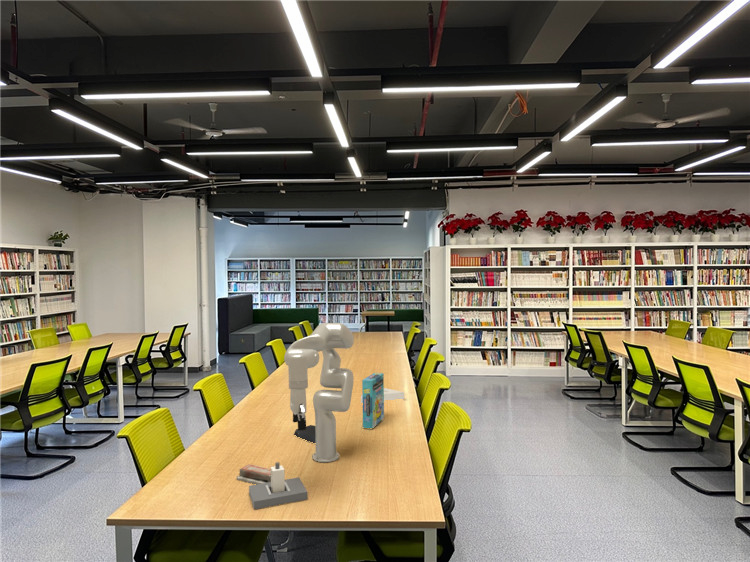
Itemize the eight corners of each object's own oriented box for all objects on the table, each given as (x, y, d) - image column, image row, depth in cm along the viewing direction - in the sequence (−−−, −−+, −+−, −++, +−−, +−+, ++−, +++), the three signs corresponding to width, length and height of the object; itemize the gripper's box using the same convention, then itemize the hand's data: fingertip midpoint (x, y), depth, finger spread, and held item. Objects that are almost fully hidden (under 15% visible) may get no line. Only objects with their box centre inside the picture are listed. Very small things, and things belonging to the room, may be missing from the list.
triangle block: (404, 401, 320) (404, 392, 320) (377, 410, 301) (377, 400, 301) (372, 394, 340) (371, 385, 340) (345, 401, 322) (345, 392, 321)
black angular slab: (312, 430, 263) (311, 423, 263) (334, 439, 249) (334, 431, 249) (292, 436, 253) (292, 428, 253) (314, 445, 240) (314, 437, 240)
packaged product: (235, 469, 200) (251, 461, 209) (235, 480, 200) (251, 472, 209) (269, 477, 192) (284, 468, 201) (269, 489, 192) (284, 479, 201)
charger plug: (271, 495, 186) (270, 462, 186) (282, 492, 188) (281, 460, 187) (273, 500, 182) (272, 466, 182) (284, 497, 184) (284, 464, 183)
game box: (373, 430, 261) (372, 380, 261) (362, 428, 263) (361, 380, 263) (384, 419, 281) (384, 373, 280) (374, 418, 283) (373, 372, 282)
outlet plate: (249, 493, 188) (248, 485, 187) (299, 484, 195) (299, 476, 195) (254, 509, 175) (253, 500, 174) (307, 499, 182) (307, 490, 182)
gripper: (285, 379, 198) (286, 420, 199) (293, 390, 182) (294, 434, 183) (303, 377, 201) (304, 417, 202) (312, 388, 184) (313, 431, 186)
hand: (299, 425), depth 192 cm, fingers open, 9 cm apart
